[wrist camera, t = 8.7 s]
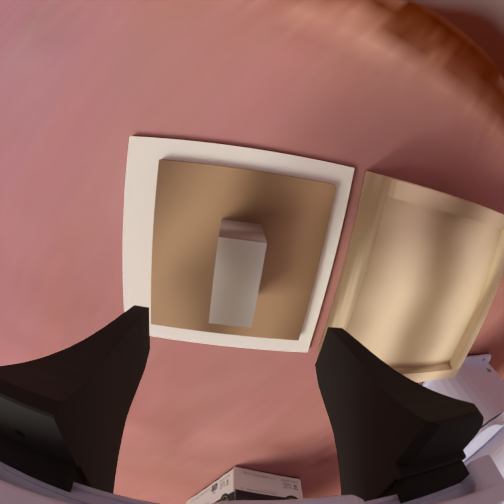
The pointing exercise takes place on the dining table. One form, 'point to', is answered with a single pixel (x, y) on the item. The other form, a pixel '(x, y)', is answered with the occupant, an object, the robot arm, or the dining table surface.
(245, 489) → the tea box
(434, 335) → the case
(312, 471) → the dining table surface
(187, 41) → the dining table surface
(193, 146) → the mat
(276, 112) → the dining table surface
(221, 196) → the lid
